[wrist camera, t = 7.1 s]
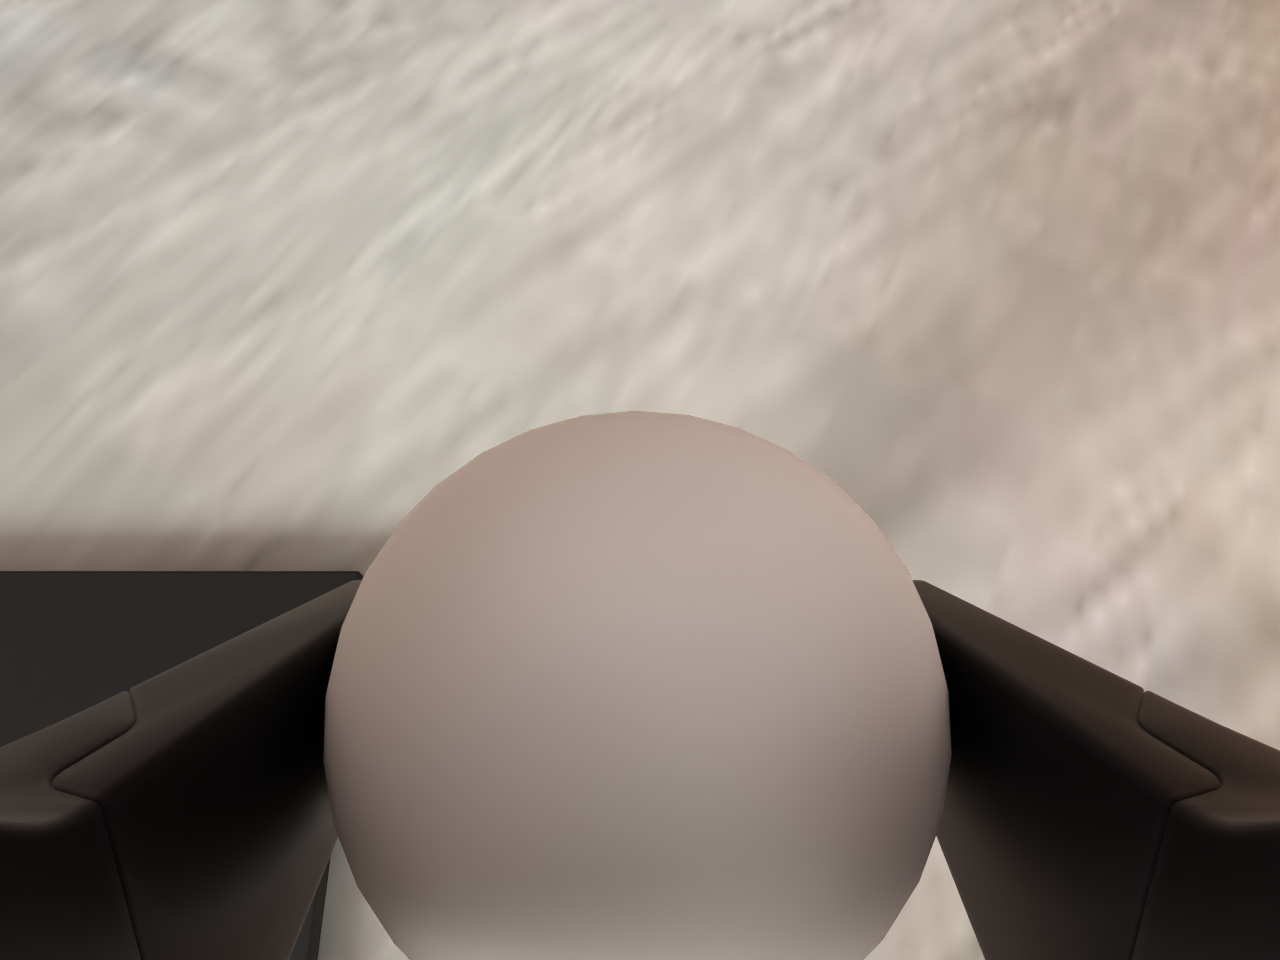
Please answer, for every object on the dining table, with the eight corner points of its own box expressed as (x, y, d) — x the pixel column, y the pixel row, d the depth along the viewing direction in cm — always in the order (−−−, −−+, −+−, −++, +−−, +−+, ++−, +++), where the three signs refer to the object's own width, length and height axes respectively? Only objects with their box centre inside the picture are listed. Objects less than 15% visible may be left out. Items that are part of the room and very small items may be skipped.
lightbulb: (678, 564, 18) (725, 176, 8) (876, 833, 16) (1256, 751, 6) (409, 740, 17) (74, 530, 7) (589, 1058, 15) (483, 1420, 5)
